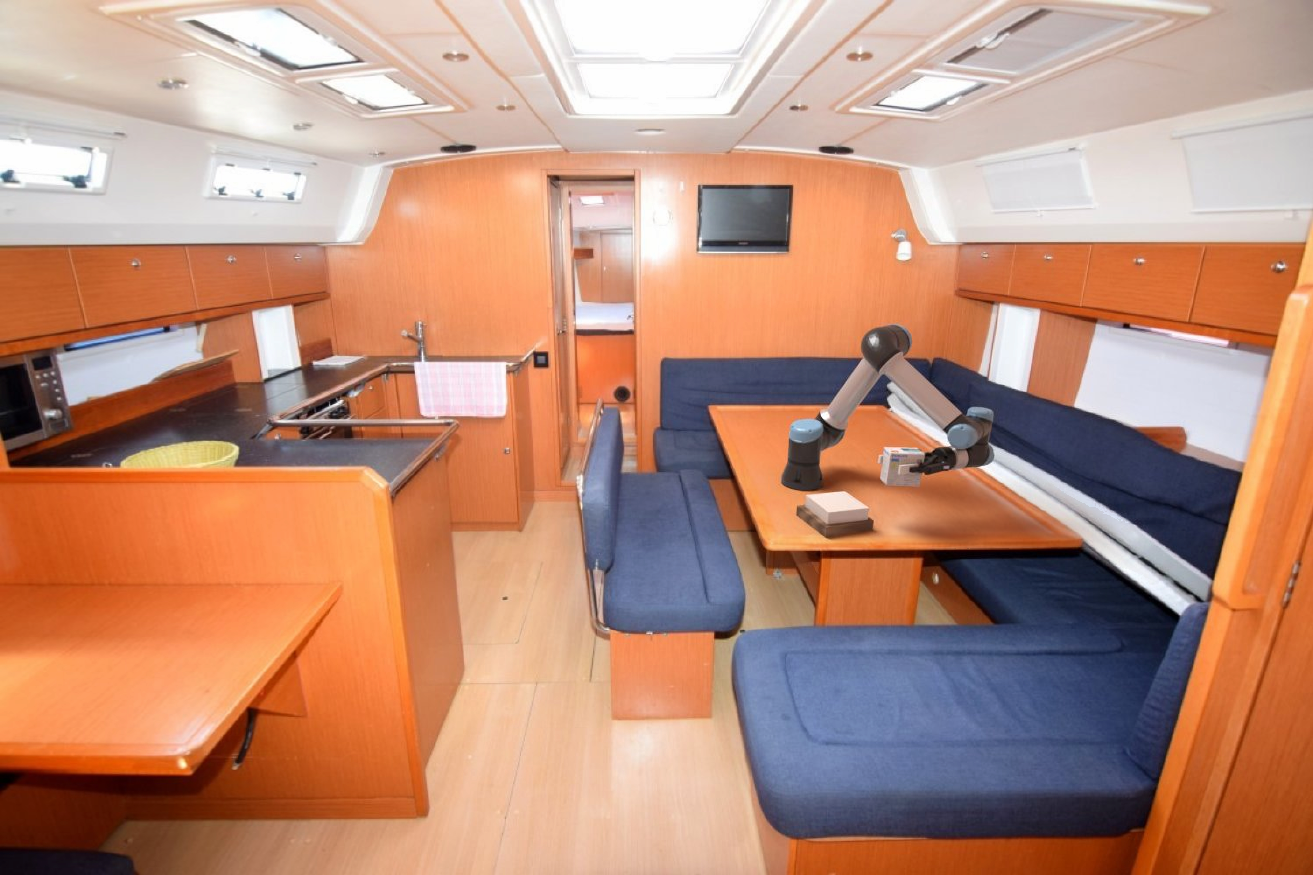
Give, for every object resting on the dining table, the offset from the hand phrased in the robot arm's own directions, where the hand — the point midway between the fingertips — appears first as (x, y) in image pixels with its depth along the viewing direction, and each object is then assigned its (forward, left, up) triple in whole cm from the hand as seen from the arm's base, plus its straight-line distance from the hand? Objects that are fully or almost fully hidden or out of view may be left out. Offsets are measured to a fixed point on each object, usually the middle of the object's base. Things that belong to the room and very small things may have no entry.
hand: (889, 464), depth 189 cm
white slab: (-6, -13, -17) cm, 22 cm away
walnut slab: (-6, -14, -21) cm, 26 cm away
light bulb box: (0, +5, -7) cm, 8 cm away
